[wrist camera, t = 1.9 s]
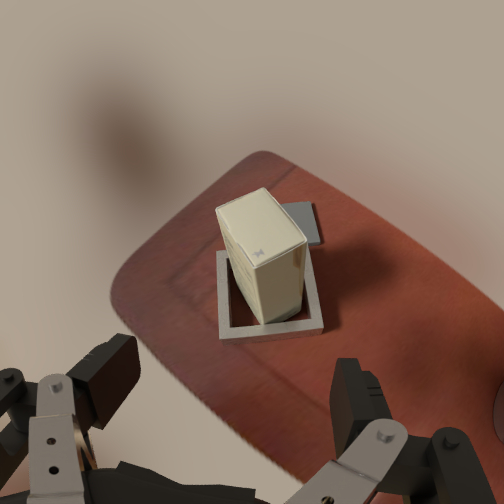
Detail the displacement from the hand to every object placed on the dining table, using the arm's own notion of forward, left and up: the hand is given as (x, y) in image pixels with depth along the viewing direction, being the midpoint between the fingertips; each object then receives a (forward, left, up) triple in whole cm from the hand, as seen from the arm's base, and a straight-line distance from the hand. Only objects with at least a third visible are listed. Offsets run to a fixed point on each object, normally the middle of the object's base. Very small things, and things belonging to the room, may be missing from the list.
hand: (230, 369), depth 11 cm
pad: (+19, -5, -17) cm, 27 cm away
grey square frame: (+11, -2, -17) cm, 21 cm away
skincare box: (+11, -2, -18) cm, 21 cm away
